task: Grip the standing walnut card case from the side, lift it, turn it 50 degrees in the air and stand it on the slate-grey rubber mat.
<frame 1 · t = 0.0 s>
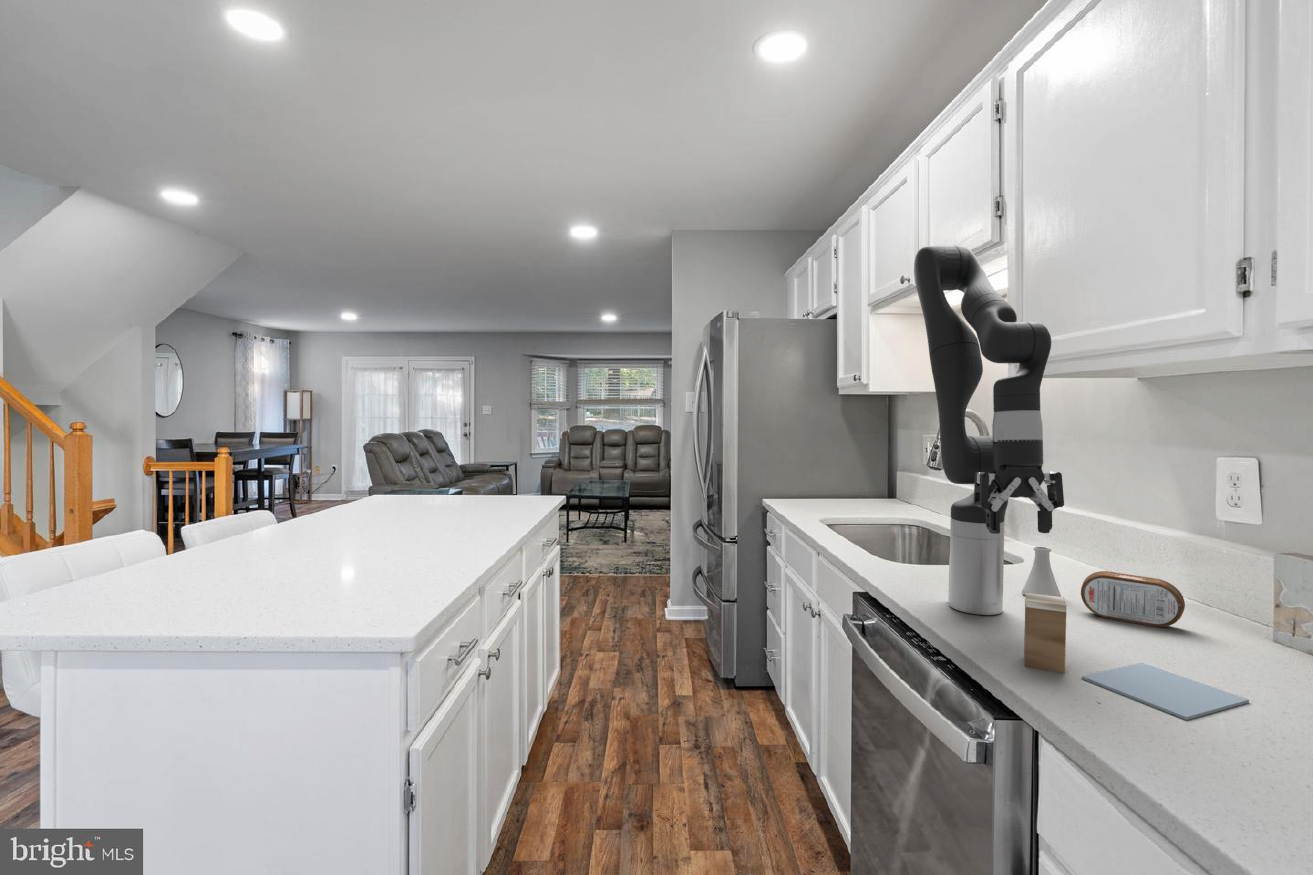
hand: (1019, 533, 108), 17 cm above the countertop, tool pointing down, fingers open, 8 cm apart
tin: (1129, 622, 114), on the countertop
mat: (1161, 689, 86), on the countertop
flask: (1041, 596, 130), on the countertop
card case: (1043, 664, 95), on the countertop
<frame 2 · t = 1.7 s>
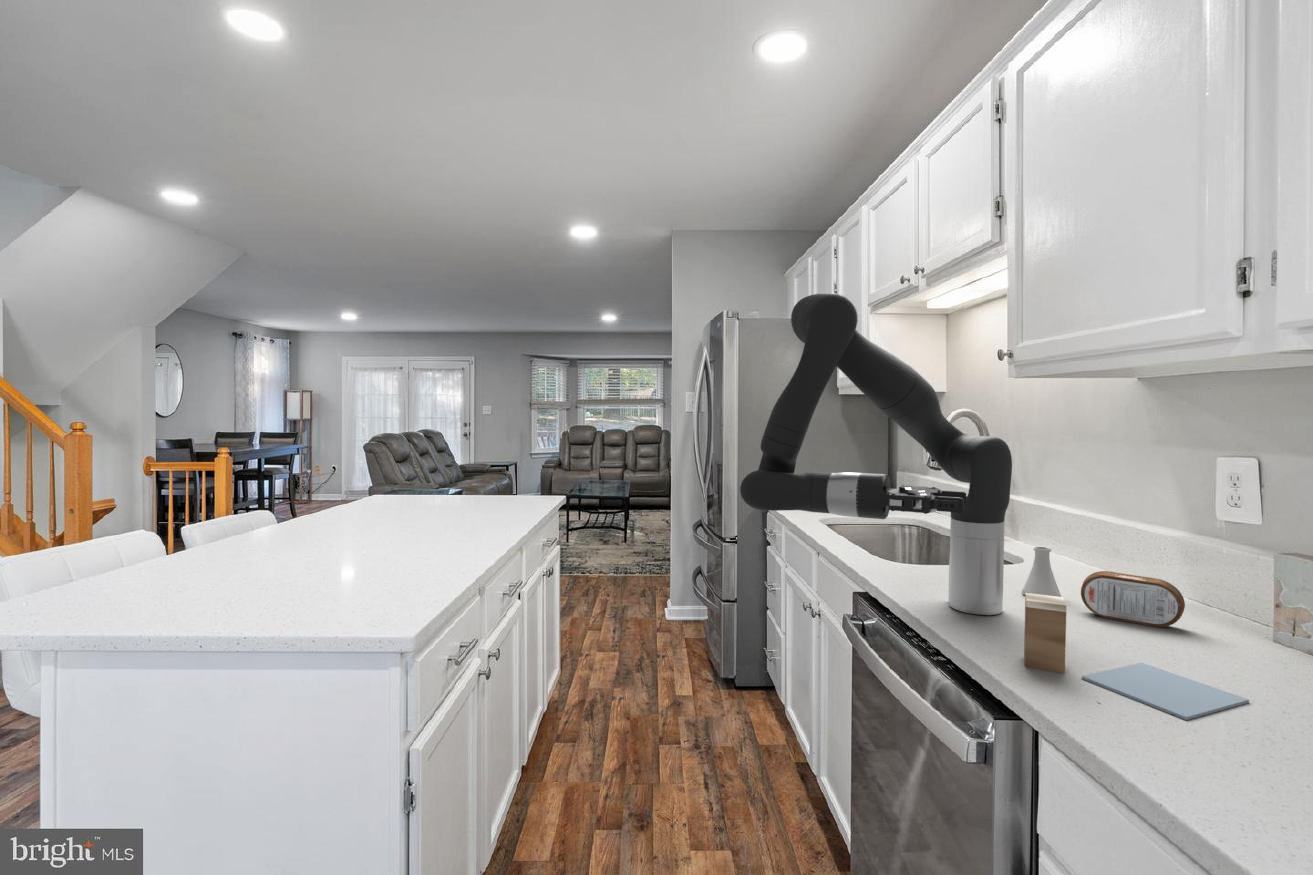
hand: (964, 501, 99), 24 cm above the countertop, tool horizontal, fingers open, 8 cm apart
nothing on the countertop moved.
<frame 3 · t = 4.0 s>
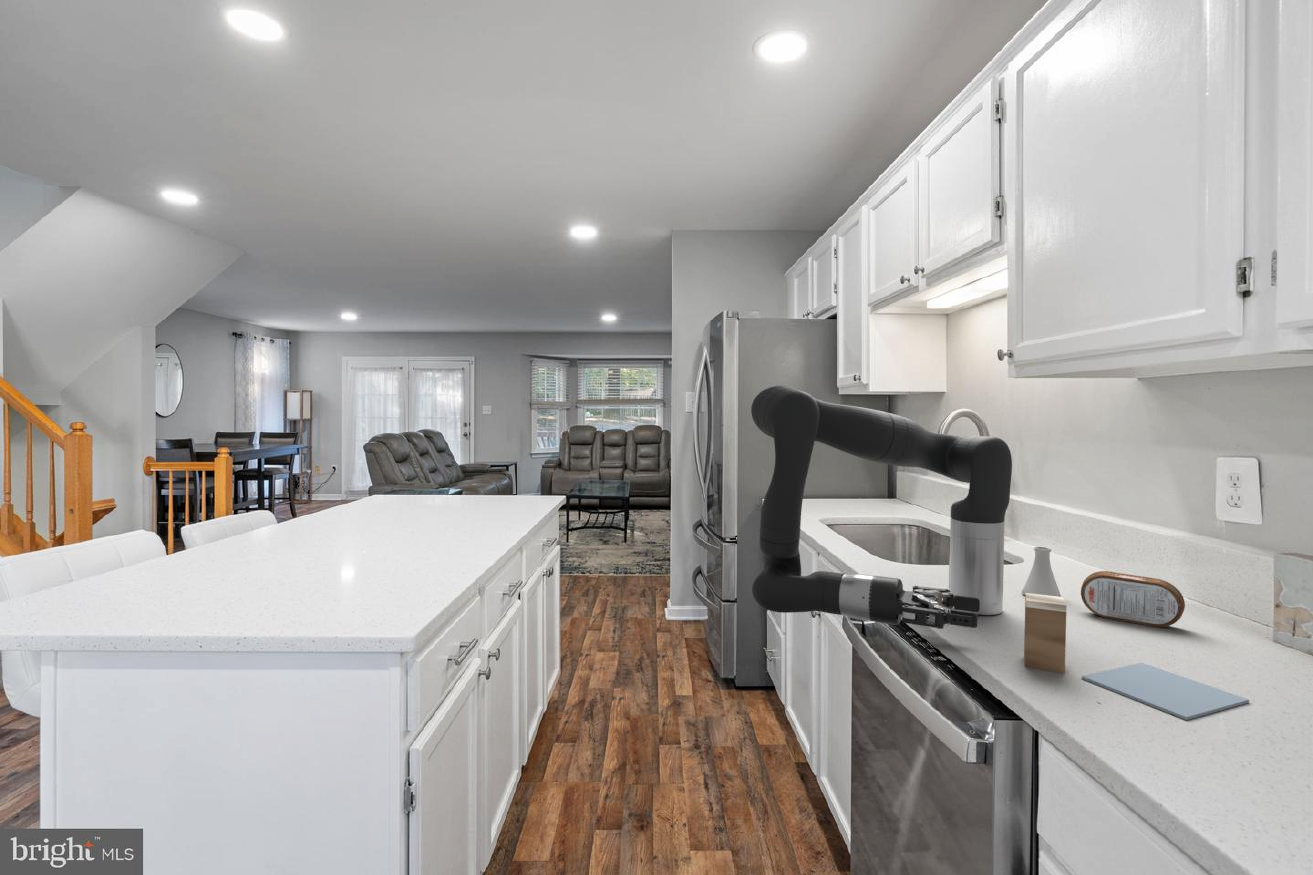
hand: (978, 612, 99), 7 cm above the countertop, tool horizontal, fingers open, 8 cm apart
nothing on the countertop moved.
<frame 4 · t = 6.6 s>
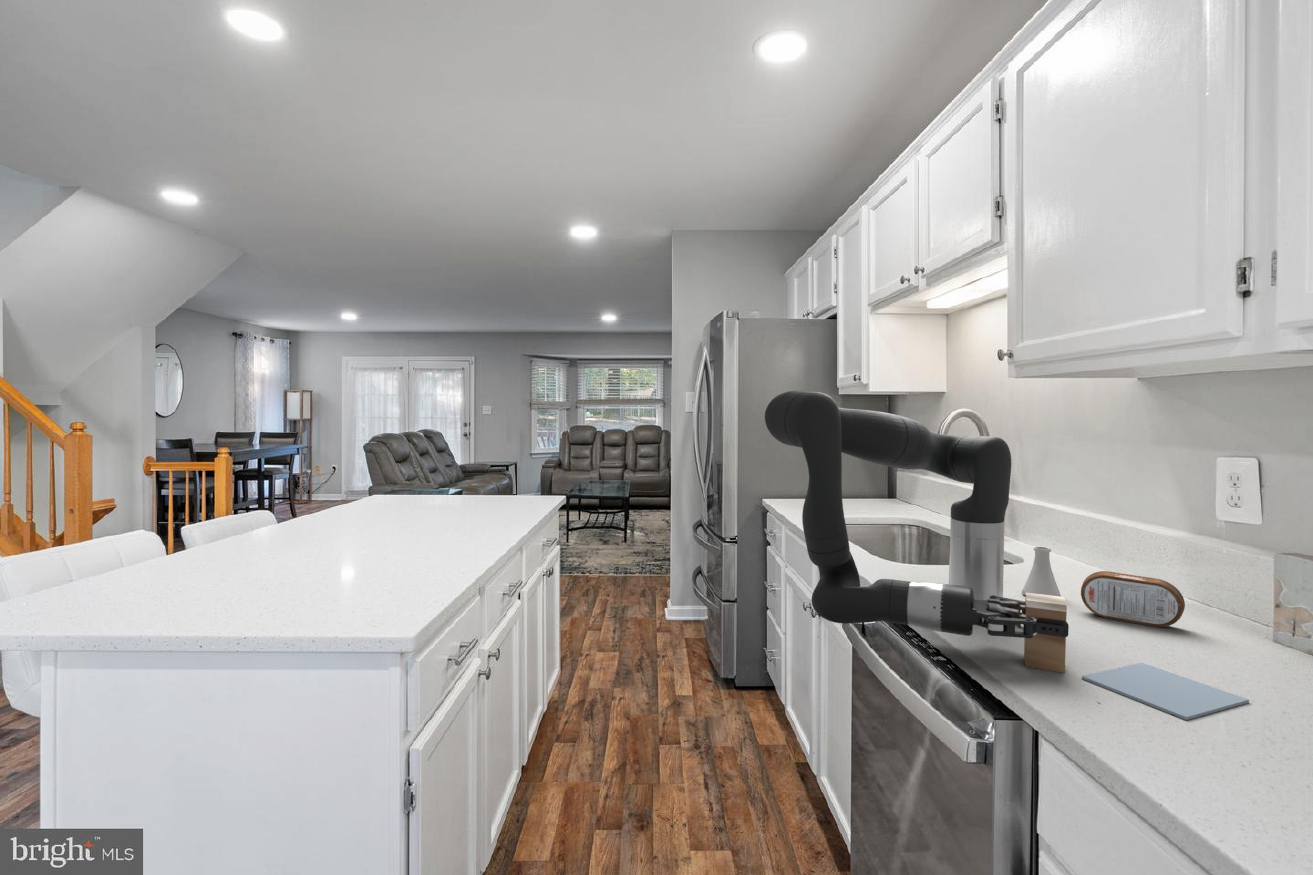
hand: (1066, 624, 93), 7 cm above the countertop, tool horizontal, fingers closed on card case, 4 cm apart
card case: (1043, 664, 95), on the countertop, touching gripper
everything else where it was.
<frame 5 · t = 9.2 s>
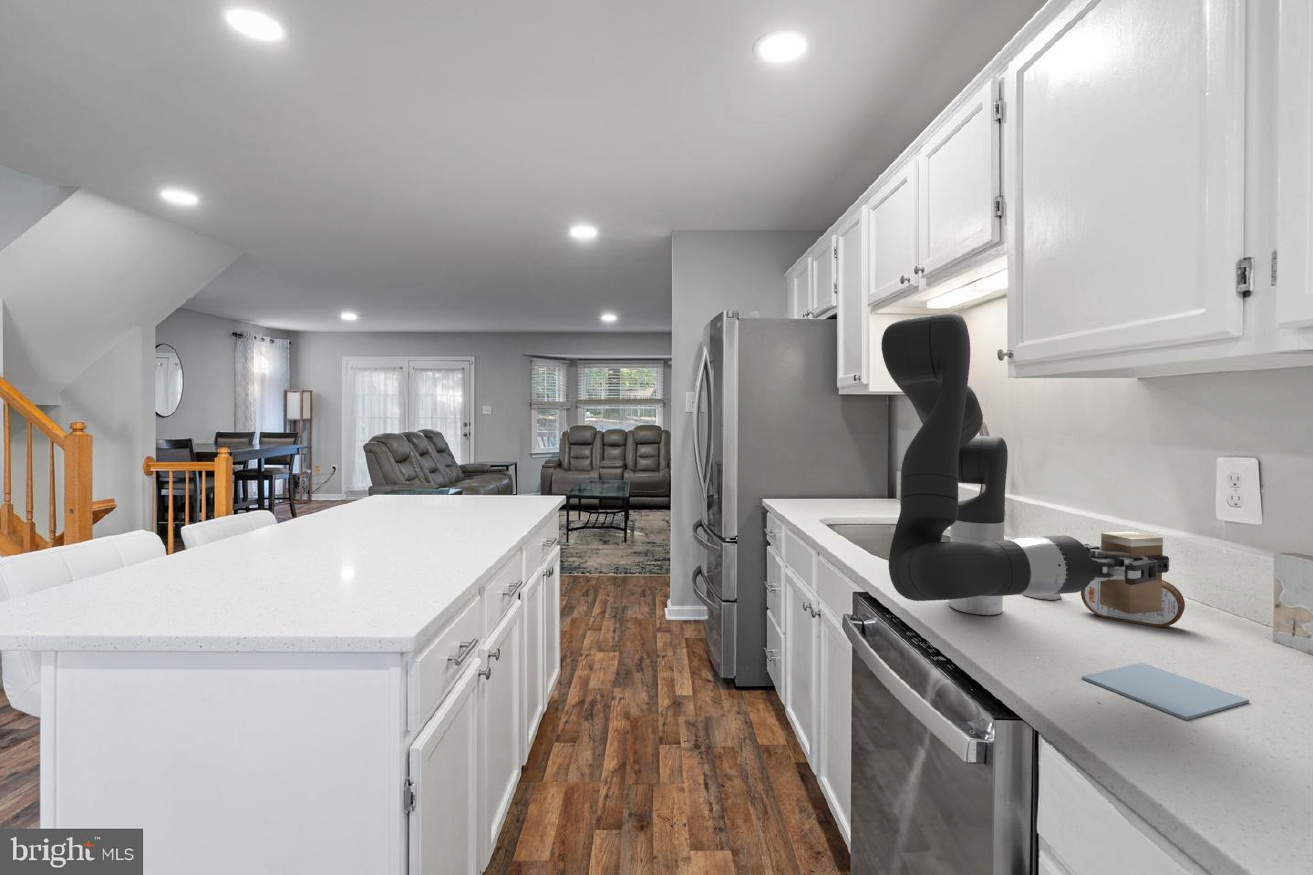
hand: (1147, 559, 87), 18 cm above the countertop, tool horizontal, fingers closed on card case, 4 cm apart
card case: (1129, 607, 86), point 11 cm above the countertop, touching gripper
everything else where it was.
when the fingers open (8 cm above the countertop, at t = 12.2 s): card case stays where it is, resting on mat.
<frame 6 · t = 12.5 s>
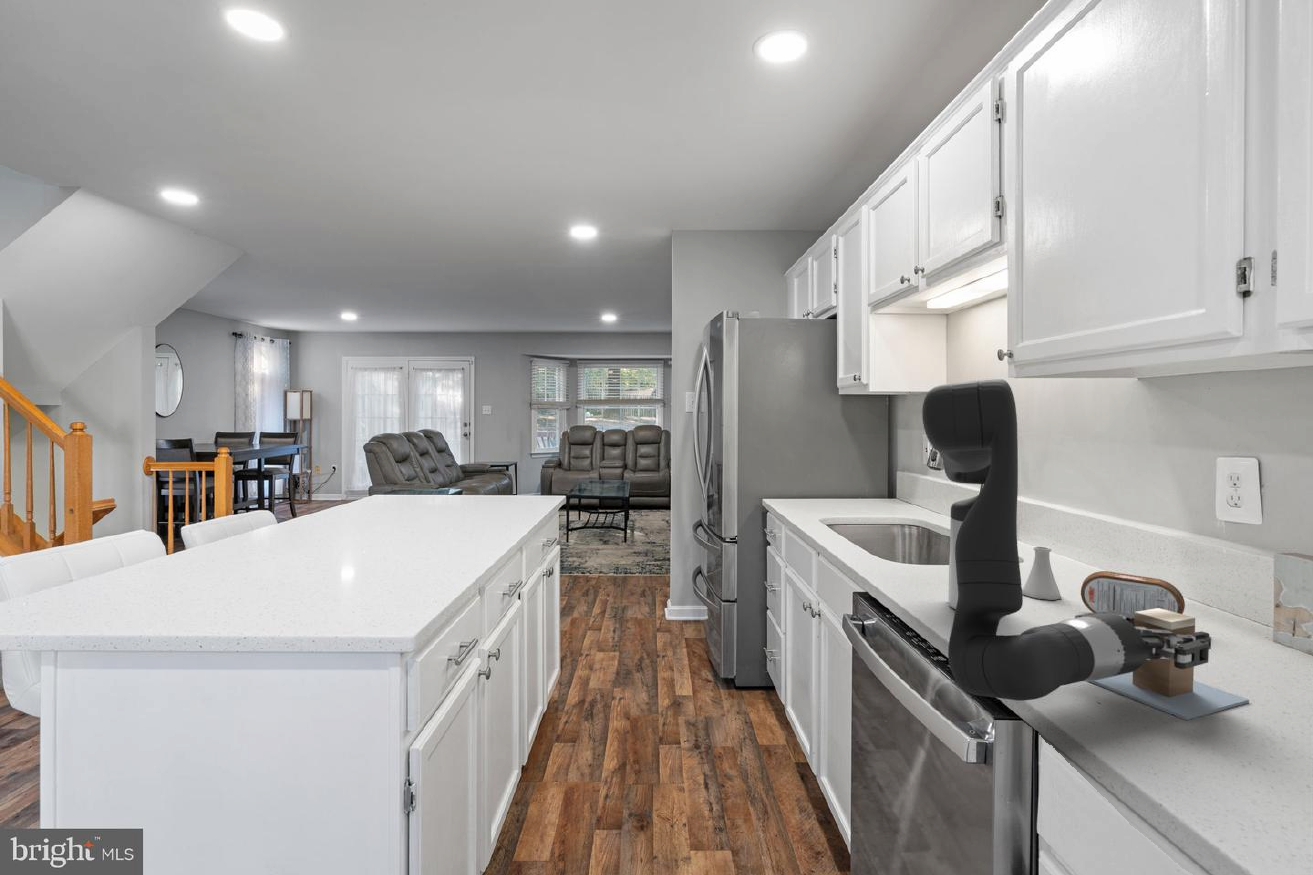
hand: (1173, 630, 86), 8 cm above the countertop, tool horizontal, fingers open, 7 cm apart
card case: (1162, 687, 86), resting on mat
everything else where it was.
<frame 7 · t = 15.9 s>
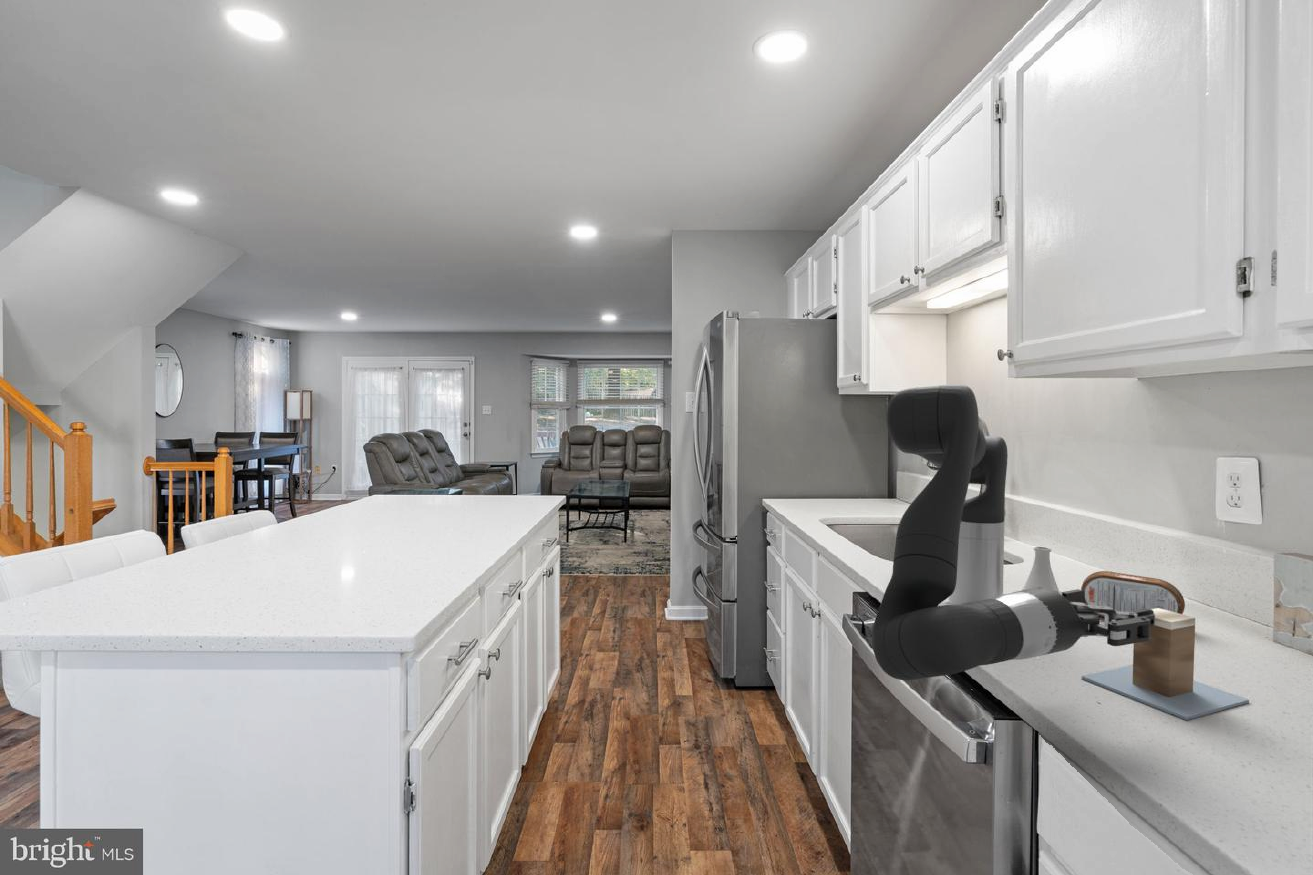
hand: (1114, 606, 82), 13 cm above the countertop, tool horizontal, fingers open, 8 cm apart
nothing on the countertop moved.
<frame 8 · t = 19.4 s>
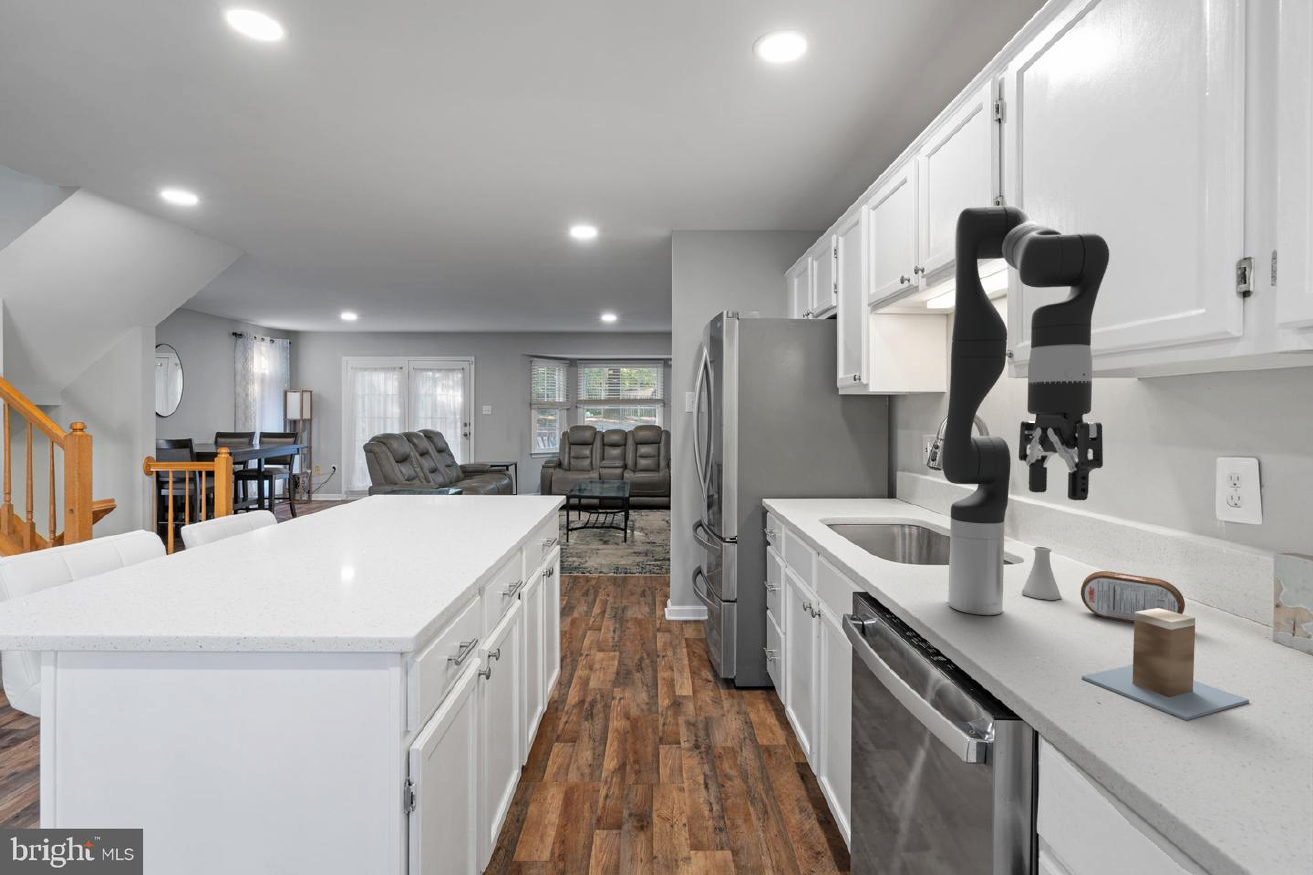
hand: (1056, 495, 89), 26 cm above the countertop, tool pointing down, fingers open, 8 cm apart
nothing on the countertop moved.
at the end: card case inside the target area (0.1 cm from its centre), resting on mat; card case tilted 0°; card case touching mat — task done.
